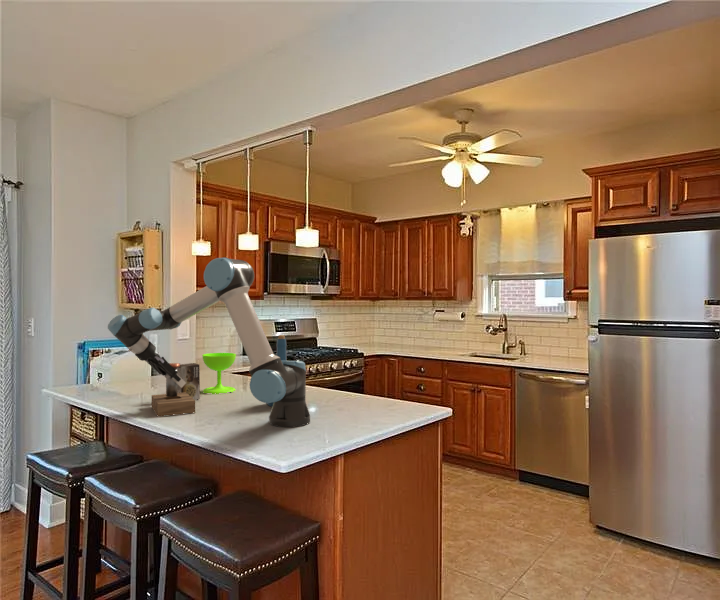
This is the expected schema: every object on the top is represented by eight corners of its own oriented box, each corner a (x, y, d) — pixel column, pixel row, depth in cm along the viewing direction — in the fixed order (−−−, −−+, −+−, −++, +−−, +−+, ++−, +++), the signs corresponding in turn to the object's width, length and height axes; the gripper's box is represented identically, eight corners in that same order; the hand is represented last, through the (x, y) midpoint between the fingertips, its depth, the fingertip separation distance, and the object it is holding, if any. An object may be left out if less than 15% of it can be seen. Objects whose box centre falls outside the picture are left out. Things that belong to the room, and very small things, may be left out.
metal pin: (181, 396, 217) (181, 364, 217) (164, 397, 214) (164, 365, 214) (178, 393, 223) (178, 362, 223) (162, 395, 220) (162, 363, 220)
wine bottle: (259, 405, 229) (259, 335, 228) (283, 400, 238) (283, 333, 238) (279, 409, 219) (279, 337, 219) (303, 405, 229) (304, 335, 229)
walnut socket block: (195, 412, 213) (195, 400, 213) (158, 416, 206) (158, 403, 206) (186, 403, 230) (186, 392, 230) (151, 406, 224) (151, 395, 224)
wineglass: (221, 387, 272) (221, 352, 272) (242, 390, 263) (242, 354, 263) (195, 391, 259) (195, 354, 259) (216, 395, 250) (216, 357, 250)
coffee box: (193, 397, 244) (193, 362, 244) (200, 399, 239) (200, 364, 239) (174, 400, 238) (174, 364, 237) (181, 402, 233) (181, 365, 233)
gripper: (125, 353, 213) (163, 388, 225) (145, 356, 201) (185, 394, 213) (138, 338, 216) (175, 375, 229) (159, 341, 205) (197, 379, 217)
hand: (180, 384), depth 221 cm, fingers closed on metal pin, 4 cm apart
